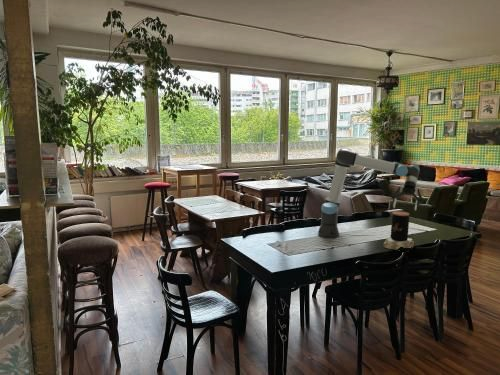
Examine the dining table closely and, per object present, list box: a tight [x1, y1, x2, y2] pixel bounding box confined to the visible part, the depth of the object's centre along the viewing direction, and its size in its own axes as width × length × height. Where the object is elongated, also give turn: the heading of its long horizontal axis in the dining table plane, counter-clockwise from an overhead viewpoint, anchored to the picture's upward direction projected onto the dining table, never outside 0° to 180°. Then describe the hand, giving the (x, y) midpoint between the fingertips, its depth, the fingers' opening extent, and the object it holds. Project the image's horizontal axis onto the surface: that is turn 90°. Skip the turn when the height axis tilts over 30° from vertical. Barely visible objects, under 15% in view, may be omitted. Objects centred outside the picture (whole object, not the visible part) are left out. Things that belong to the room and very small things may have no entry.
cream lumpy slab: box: [383, 235, 415, 251], centre depth 246 cm, size 16×16×5 cm
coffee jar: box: [390, 210, 410, 241], centre depth 244 cm, size 11×11×18 cm
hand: (404, 208), depth 248 cm, fingers open, 13 cm apart
